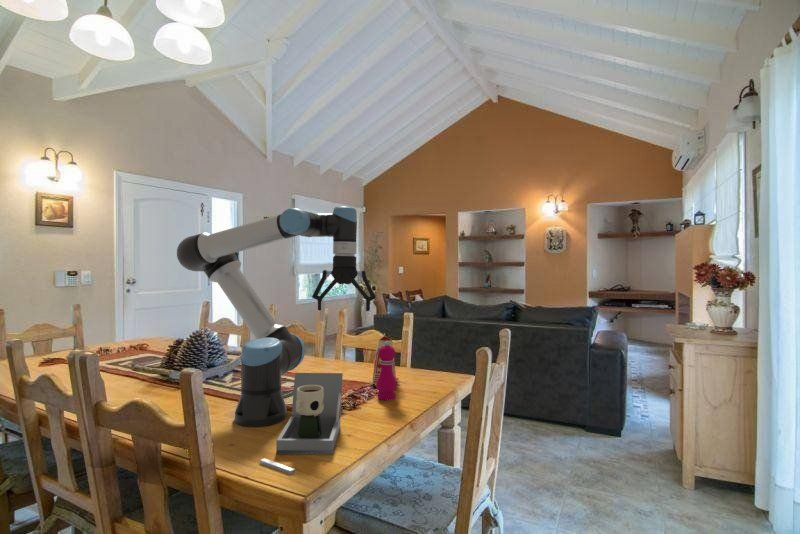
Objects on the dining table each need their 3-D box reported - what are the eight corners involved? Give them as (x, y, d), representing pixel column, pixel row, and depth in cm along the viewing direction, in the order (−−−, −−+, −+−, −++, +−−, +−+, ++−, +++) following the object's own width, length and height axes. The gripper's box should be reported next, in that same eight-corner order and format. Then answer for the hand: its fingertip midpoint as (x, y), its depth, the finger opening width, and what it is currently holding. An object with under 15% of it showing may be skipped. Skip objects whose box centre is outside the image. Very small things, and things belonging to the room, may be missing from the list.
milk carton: (395, 385, 168) (396, 334, 168) (371, 385, 169) (372, 333, 168) (396, 379, 178) (396, 330, 177) (373, 378, 178) (374, 329, 177)
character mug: (307, 446, 111) (307, 396, 111) (285, 440, 114) (286, 391, 114) (332, 431, 121) (333, 385, 121) (312, 426, 124) (312, 381, 124)
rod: (294, 474, 100) (294, 468, 100) (291, 476, 99) (291, 470, 99) (263, 463, 105) (263, 458, 105) (259, 465, 104) (259, 460, 104)
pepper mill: (394, 401, 150) (394, 343, 149) (373, 400, 151) (374, 342, 151) (398, 395, 157) (399, 339, 156) (378, 393, 158) (379, 338, 158)
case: (276, 454, 109) (276, 394, 109) (295, 421, 130) (295, 372, 130) (332, 454, 109) (333, 395, 109) (342, 422, 131) (342, 372, 130)
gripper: (303, 254, 137) (302, 322, 137) (383, 255, 137) (382, 323, 138) (308, 254, 144) (307, 318, 145) (383, 255, 145) (382, 319, 145)
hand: (343, 321), depth 141 cm, fingers open, 13 cm apart
